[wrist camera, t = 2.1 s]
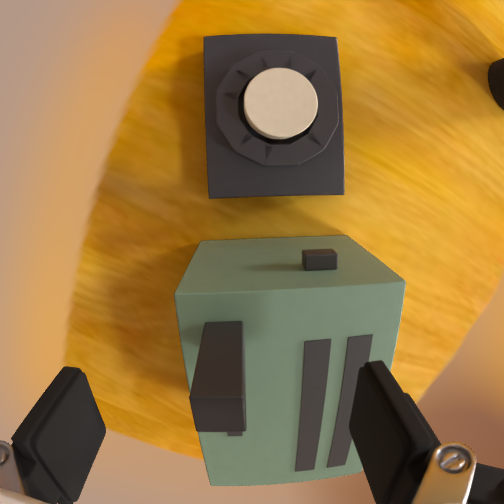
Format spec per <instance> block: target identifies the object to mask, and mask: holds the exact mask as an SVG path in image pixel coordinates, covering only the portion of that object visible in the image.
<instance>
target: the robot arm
mask: <svg viewBox="0 0 504 504" xmlns="http://www.w3.org/2000/svg"><path fill="white" fill-rule="evenodd" d="M349 431H350V434H351V437H352V439H353V442H354V445H355V447H356V450H357V453H358V456H359V458H360V461H361V464H362V466H363V469H364V472H365V474H366V477H367V480H368V483H369V486H370V489H371V491H372V494H373V497H374V500H375V502H376V504H504V469H500V468H496V467H492V466H487V465H483V464H479V463H476V455H475V453H474V451H473V450H472V449H471V448H470V447H469V446H467V445H466V444H463V443H460V442H448V443H444V444H442V445H441V443H440V441H439V440H438V439H437V437H436V435H435V434H434V432H433V430H432V429H431V427H430V426H429V424H428V423H427V421H426V420H425V418H424V416H423V415H422V413H421V412H420V410H419V409H418V407H417V406H416V404H415V403H414V401H413V400H412V398H411V396H410V395H409V394H407V393H404V392H403V391H402V389H401V388H400V386H399V384H398V383H397V381H396V380H395V378H394V377H393V375H392V374H391V372H390V371H389V369H388V368H387V366H386V365H385V363H384V362H383V361H382V360H378V361H371V362H366V363H365V364H364V367H360V368H359V372H358V378H357V384H356V390H355V395H354V401H353V406H352V411H351V416H350V421H349ZM105 433H106V427H105V424H104V422H103V420H102V417H101V415H100V412H99V410H98V407H97V404H96V402H95V399H94V397H93V394H92V391H91V388H90V386H89V383H88V380H87V377H86V375H85V373H83V372H82V371H81V369H80V368H76V367H67V366H66V367H63V368H62V370H61V371H60V372H59V374H58V375H57V376H56V377H55V379H54V380H53V381H52V383H51V384H50V385H49V387H48V388H47V389H46V390H45V392H44V393H43V394H42V396H41V397H40V398H39V400H38V401H37V403H36V404H35V405H34V407H33V408H32V409H31V411H30V412H29V414H28V415H27V416H26V418H25V419H24V420H23V422H22V423H21V425H20V426H19V428H18V429H17V430H16V432H15V434H14V435H13V436H12V438H11V439H12V441H13V443H12V445H10V444H9V443H7V442H5V441H0V504H57V503H58V504H73V502H76V501H77V500H78V499H79V496H80V494H81V491H82V489H83V486H84V484H85V481H86V479H87V476H88V474H89V472H90V469H91V467H92V464H93V462H94V460H95V457H96V455H97V453H98V450H99V448H100V446H101V443H102V441H103V439H104V436H105Z"/></svg>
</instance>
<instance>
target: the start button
mask: <svg viewBox="0 0 504 504" xmlns="http://www.w3.org/2000/svg"><path fill="white" fill-rule="evenodd" d="M317 108H318V100H317V95H316V92H315V89H314V88H313V86H312V84H311V83H310V82H309V81H308V80H307V79H306V78H305V77H304V76H303V75H301V74H300V73H298V72H296V71H294V70H291V69H287V68H272V69H268V70H265V71H263V72H261V73H259V74H258V75H256V76H255V77H254V78H253V79H252V80H251V81H250V83H249V84H248V86H247V88H246V91H245V95H244V113H245V117H246V119H247V121H248V123H249V124H250V126H251V127H252V128H253V129H254V130H255V131H256V132H257V133H259V134H261V135H262V136H265V137H267V138H270V139H287V138H290V137H293V136H295V135H297V134H299V133H301V132H302V131H304V130H305V129H306V128H308V127H309V126H310V124H311V123H312V122H313V120H314V118H315V116H316V113H317Z"/></svg>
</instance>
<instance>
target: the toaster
mask: <svg viewBox="0 0 504 504" xmlns="http://www.w3.org/2000/svg"><path fill="white" fill-rule="evenodd" d="M405 287H406V281H405V280H404V279H403V278H401V277H400V276H399V275H398V274H396V273H395V272H394V271H393V270H391V269H390V268H389V267H388V266H386V265H385V264H384V263H383V262H381V261H380V260H379V259H377V258H376V257H375V256H374V255H372V254H371V253H370V252H368V251H367V250H366V249H365V248H363V247H362V246H361V245H359V244H358V243H357V242H355V241H354V240H353V239H351V238H350V237H349V236H347V235H335V236H307V237H280V238H255V239H231V240H209V241H200V243H199V245H198V247H197V249H196V251H195V253H194V255H193V257H192V259H191V261H190V263H189V265H188V267H187V269H186V271H185V273H184V275H183V277H182V279H181V281H180V283H179V285H178V287H177V289H176V291H175V293H174V299H175V306H176V314H177V320H178V327H179V334H180V340H181V346H182V352H183V358H184V364H185V370H186V376H187V381H188V386H189V392H190V391H191V386H192V381H193V376H194V372H195V367H196V362H197V357H198V352H199V348H200V343H201V338H202V334H203V329H204V324H205V322H221V321H243V323H244V340H245V372H246V421H247V429H246V431H245V432H198V435H199V440H200V444H201V449H202V453H203V457H204V461H205V465H206V469H207V473H208V477H209V481H210V485H211V486H250V485H270V484H284V483H294V482H304V481H312V480H320V479H326V478H333V477H339V476H345V475H350V474H355V473H360V472H361V471H362V468H363V466H362V464H361V461H360V458H359V456H358V453H357V450H356V447H355V445H354V442H353V439H352V437H351V434H350V431H349V421H350V416H351V411H352V406H353V401H354V395H355V390H356V384H357V378H358V372H359V368H360V367H364V364H365V363H366V362H371V361H378V360H382V361H383V362H384V363H385V365H386V366H387V368H388V369H389V371H391V367H392V362H393V357H394V352H395V347H396V342H397V337H398V332H399V326H400V320H401V314H402V308H403V301H404V294H405Z"/></svg>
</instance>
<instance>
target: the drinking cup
mask: <svg viewBox="0 0 504 504" xmlns="http://www.w3.org/2000/svg"><path fill="white" fill-rule="evenodd" d="M488 81H489V86H490V89H491V92H492V95H493V97H494V99H495V100H496V102H497V103H498V105H499V106H500V107H501V108H502V109H503V110H504V58H503V59H500V60H498V61H496V62H494V63H492V64H491V66H490V68H489V72H488Z"/></svg>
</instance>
